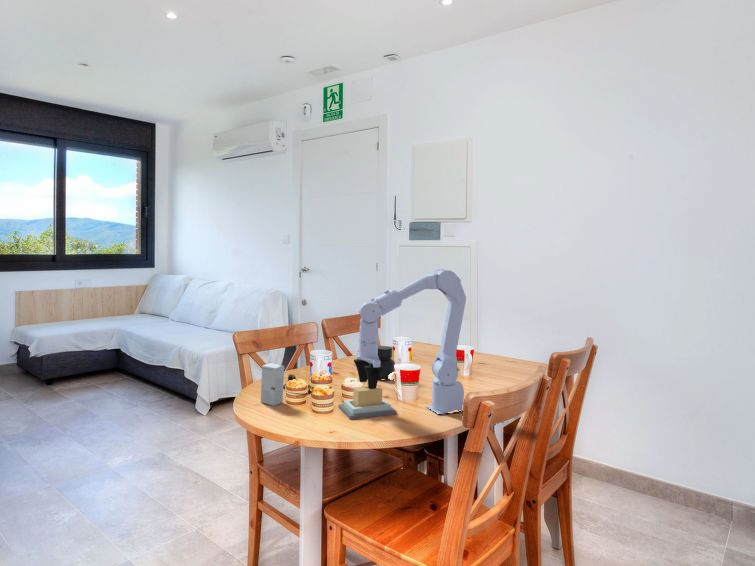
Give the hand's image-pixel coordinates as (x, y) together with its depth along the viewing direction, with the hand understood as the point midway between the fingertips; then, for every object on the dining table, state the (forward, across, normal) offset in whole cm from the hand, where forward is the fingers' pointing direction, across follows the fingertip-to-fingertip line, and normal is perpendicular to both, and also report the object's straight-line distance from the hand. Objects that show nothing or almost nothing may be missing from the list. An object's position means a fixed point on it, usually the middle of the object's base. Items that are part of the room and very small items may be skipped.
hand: (367, 385), depth 147 cm
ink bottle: (+8, -34, +20) cm, 40 cm away
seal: (+9, -30, -15) cm, 34 cm away
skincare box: (+8, -17, -26) cm, 32 cm away
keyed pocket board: (+8, 0, 0) cm, 8 cm away
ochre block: (+7, 0, 0) cm, 7 cm away
